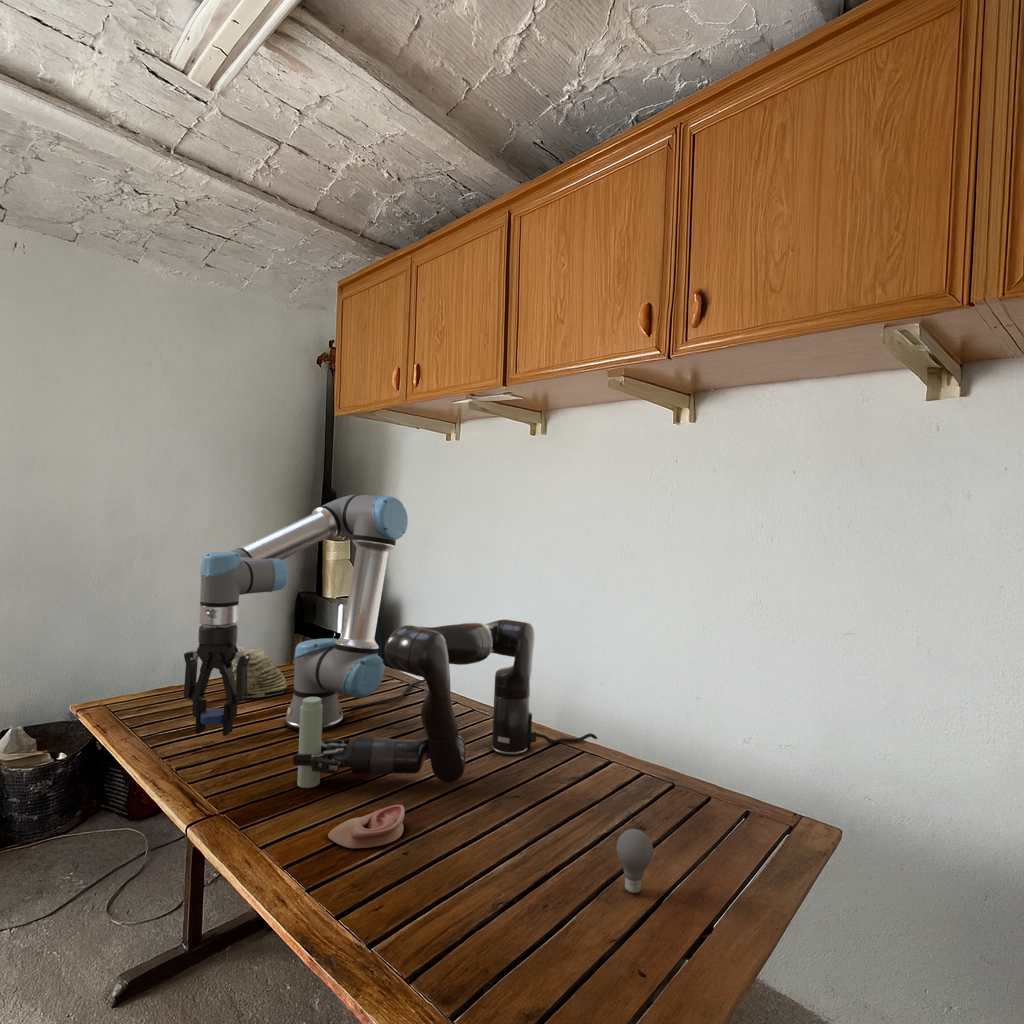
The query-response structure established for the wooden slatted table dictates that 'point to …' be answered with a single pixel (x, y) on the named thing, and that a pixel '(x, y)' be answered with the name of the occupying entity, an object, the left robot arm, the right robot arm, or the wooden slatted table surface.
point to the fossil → (261, 674)
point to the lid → (212, 716)
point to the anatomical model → (370, 828)
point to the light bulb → (634, 857)
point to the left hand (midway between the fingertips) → (213, 732)
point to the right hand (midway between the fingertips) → (297, 754)
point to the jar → (310, 739)
